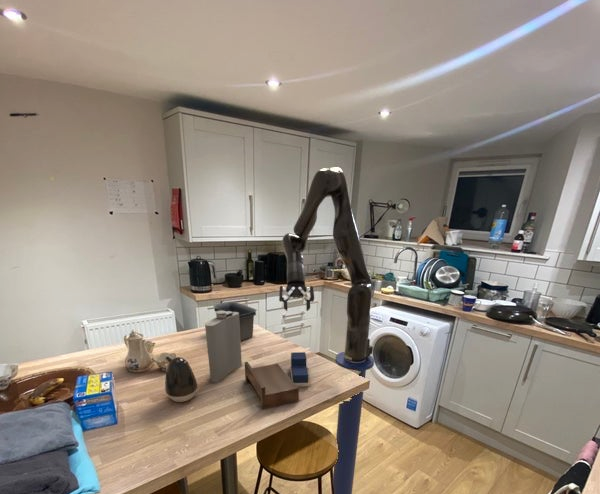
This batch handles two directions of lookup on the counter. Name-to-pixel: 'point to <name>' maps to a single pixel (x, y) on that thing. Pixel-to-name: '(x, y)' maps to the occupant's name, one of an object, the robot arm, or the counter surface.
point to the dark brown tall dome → (180, 380)
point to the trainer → (299, 369)
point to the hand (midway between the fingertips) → (297, 309)
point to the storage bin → (240, 316)
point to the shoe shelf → (271, 385)
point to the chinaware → (143, 354)
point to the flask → (223, 344)
